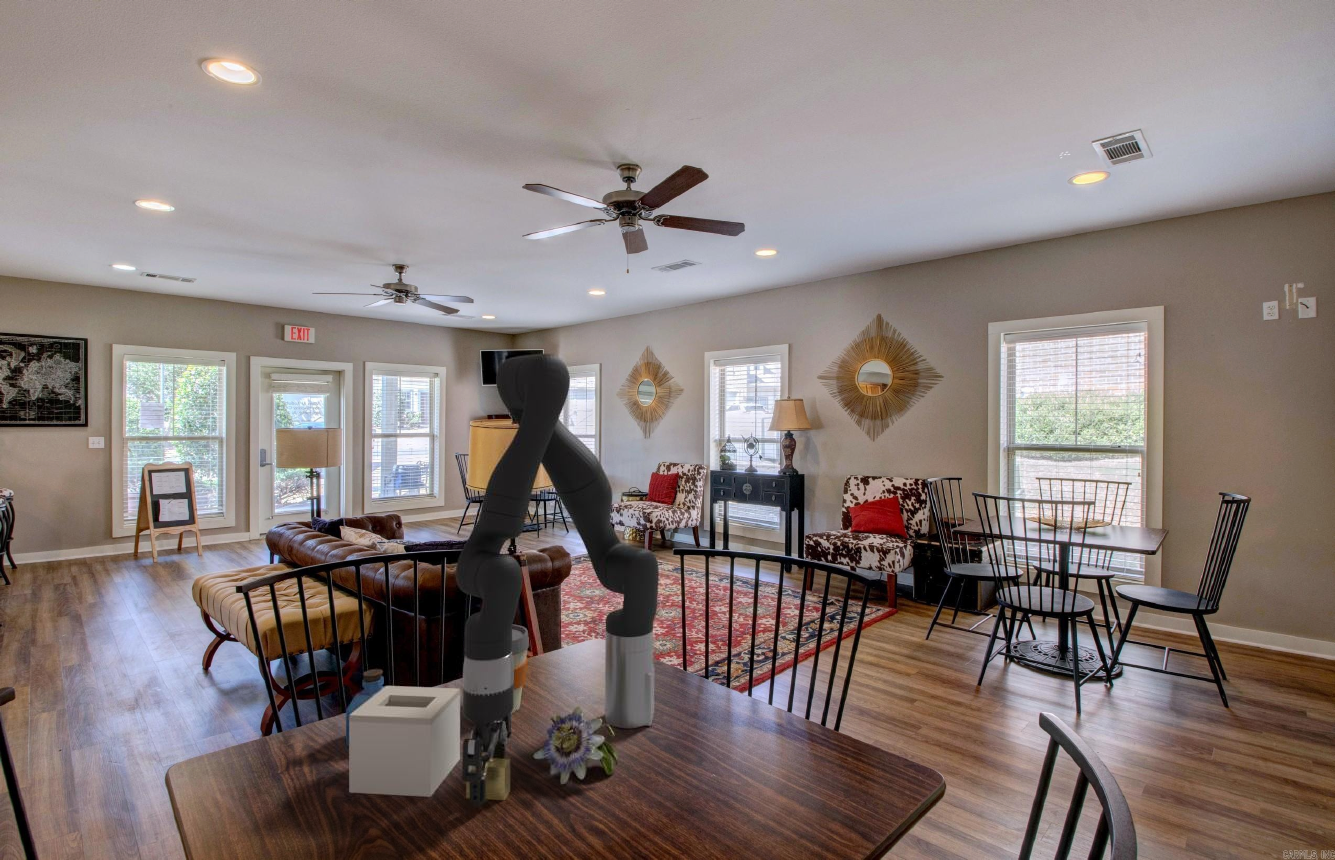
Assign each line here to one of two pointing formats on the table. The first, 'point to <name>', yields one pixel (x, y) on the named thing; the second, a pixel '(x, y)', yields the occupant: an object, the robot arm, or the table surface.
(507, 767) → the tan wooden block
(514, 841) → the table surface
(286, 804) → the table surface
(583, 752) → the passion flower
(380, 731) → the tissue box
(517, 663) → the reusable coffee cup
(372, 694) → the perfume bottle
